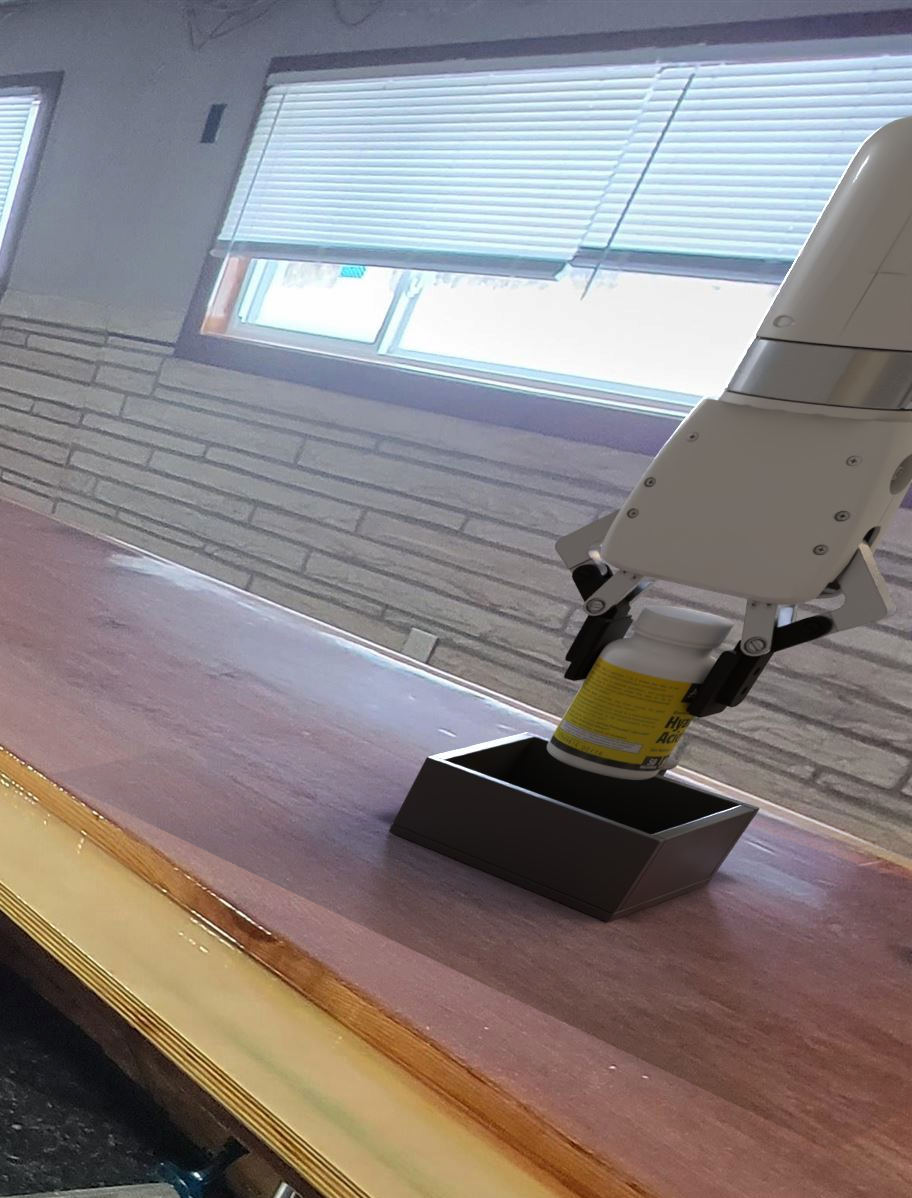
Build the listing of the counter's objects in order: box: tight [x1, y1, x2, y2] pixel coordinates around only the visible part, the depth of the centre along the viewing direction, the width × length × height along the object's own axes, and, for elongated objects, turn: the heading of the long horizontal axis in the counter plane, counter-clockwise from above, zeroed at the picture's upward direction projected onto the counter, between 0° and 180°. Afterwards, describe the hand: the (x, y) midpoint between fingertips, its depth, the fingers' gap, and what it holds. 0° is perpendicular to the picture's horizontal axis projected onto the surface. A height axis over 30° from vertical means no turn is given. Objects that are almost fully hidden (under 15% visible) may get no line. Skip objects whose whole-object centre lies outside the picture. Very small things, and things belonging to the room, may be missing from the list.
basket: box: [388, 731, 760, 923], centre depth 79 cm, size 12×12×6 cm
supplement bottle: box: [547, 604, 735, 780], centre depth 74 cm, size 5×5×10 cm
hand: (642, 692), depth 74 cm, fingers closed on supplement bottle, 5 cm apart
